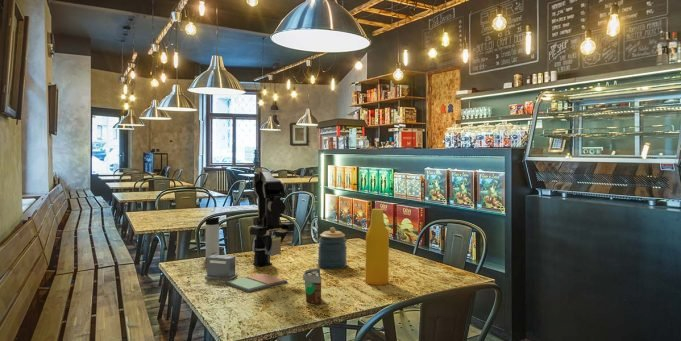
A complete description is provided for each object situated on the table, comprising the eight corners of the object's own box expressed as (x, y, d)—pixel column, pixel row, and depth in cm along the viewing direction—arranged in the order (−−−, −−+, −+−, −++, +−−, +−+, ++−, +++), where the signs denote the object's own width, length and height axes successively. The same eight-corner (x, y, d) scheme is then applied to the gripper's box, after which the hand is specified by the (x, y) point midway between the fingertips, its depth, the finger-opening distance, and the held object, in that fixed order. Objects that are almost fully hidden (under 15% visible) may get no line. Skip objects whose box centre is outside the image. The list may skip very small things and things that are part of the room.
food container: (302, 295, 167) (302, 268, 166) (319, 295, 167) (319, 267, 167) (302, 307, 155) (302, 277, 154) (321, 306, 155) (321, 276, 155)
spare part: (273, 252, 191) (273, 235, 191) (281, 254, 188) (281, 236, 188) (264, 254, 188) (264, 236, 188) (272, 255, 185) (272, 238, 184)
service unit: (213, 274, 195) (213, 254, 194) (237, 276, 192) (237, 255, 192) (204, 278, 188) (204, 257, 188) (229, 280, 185) (229, 259, 185)
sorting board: (262, 275, 194) (262, 272, 194) (287, 282, 183) (287, 280, 183) (224, 283, 181) (224, 281, 181) (248, 292, 170) (248, 289, 170)
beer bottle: (361, 280, 187) (362, 208, 186) (382, 278, 191) (383, 207, 189) (370, 286, 179) (371, 211, 178) (392, 284, 182) (393, 210, 181)
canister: (314, 268, 206) (314, 228, 205) (322, 261, 218) (322, 224, 218) (343, 270, 203) (343, 230, 202) (349, 263, 215) (349, 225, 215)
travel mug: (216, 260, 219) (215, 218, 218) (203, 259, 221) (203, 217, 220) (222, 257, 225) (221, 216, 225) (209, 256, 227) (209, 215, 226)
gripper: (278, 208, 200) (278, 244, 200) (241, 211, 186) (241, 250, 187) (295, 210, 192) (295, 248, 193) (258, 214, 178) (258, 255, 179)
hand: (272, 250), depth 188 cm, fingers closed on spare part, 4 cm apart
